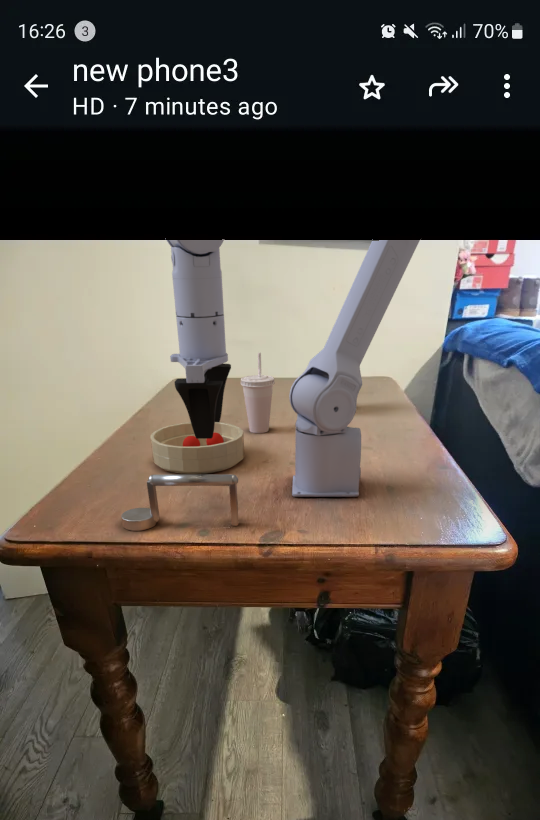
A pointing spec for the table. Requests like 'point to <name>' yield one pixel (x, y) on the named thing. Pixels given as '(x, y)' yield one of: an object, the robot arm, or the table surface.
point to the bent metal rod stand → (149, 516)
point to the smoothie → (258, 399)
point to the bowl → (196, 449)
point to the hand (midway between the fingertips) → (208, 429)
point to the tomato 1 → (191, 442)
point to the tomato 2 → (215, 439)
